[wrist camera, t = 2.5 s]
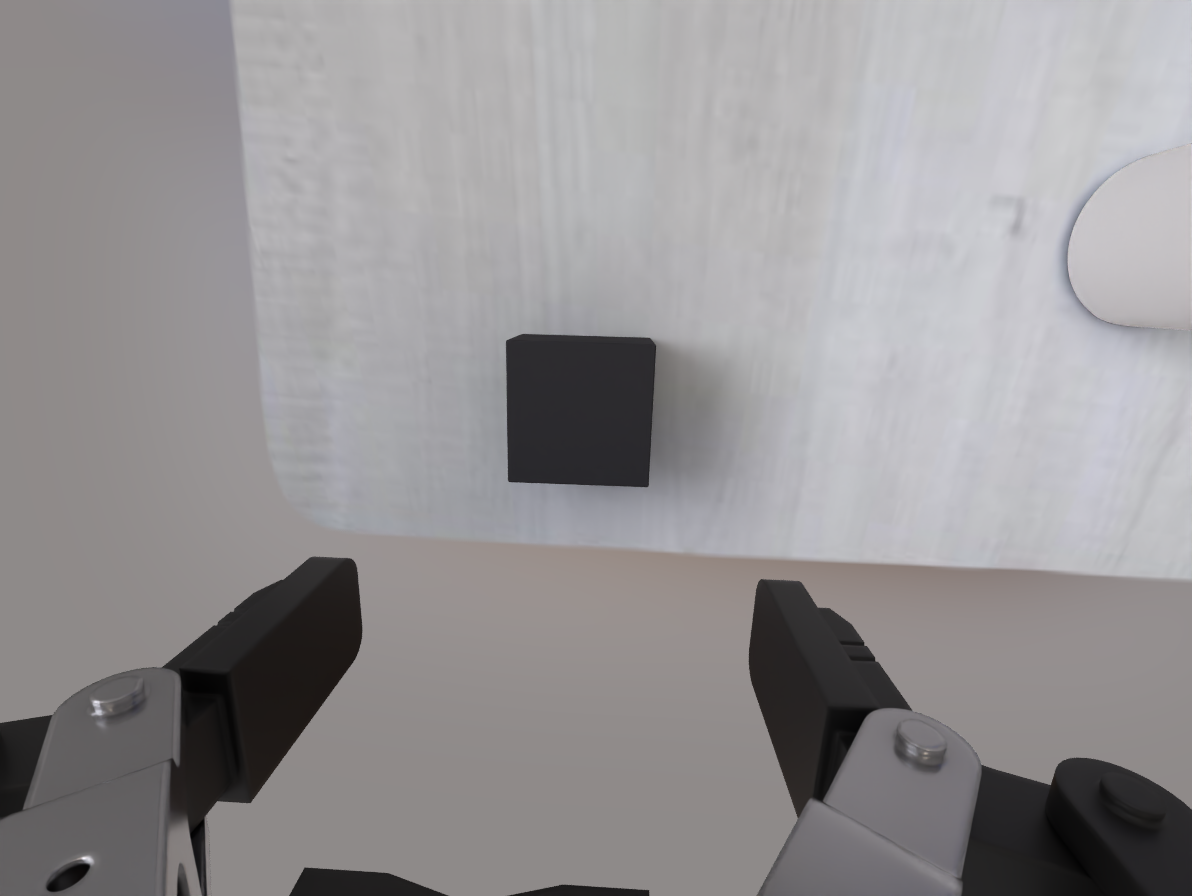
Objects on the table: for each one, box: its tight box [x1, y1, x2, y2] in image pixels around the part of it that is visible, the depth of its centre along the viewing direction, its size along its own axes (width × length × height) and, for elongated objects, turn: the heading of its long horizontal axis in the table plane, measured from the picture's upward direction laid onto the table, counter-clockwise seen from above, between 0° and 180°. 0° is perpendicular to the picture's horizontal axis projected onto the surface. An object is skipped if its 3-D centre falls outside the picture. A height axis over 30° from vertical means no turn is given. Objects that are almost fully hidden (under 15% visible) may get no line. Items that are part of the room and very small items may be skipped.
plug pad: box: [506, 334, 656, 487], centre depth 23 cm, size 6×6×4 cm
